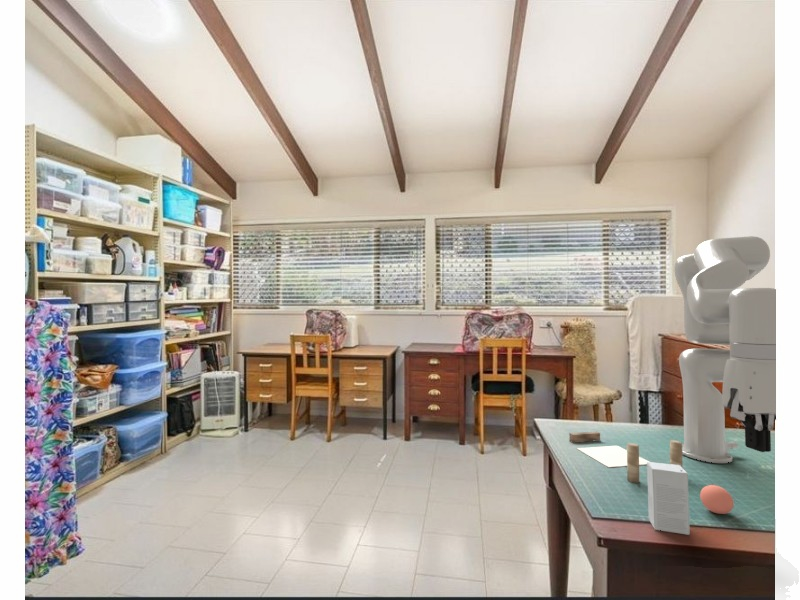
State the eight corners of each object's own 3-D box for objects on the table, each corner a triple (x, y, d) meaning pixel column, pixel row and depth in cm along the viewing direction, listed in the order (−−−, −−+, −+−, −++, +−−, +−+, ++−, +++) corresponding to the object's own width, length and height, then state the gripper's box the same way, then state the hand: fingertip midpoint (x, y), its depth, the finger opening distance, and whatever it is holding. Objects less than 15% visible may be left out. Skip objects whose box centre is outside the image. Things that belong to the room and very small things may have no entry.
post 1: (633, 478, 97) (633, 442, 98) (641, 482, 95) (641, 446, 95) (624, 478, 97) (624, 443, 97) (632, 483, 94) (632, 447, 95)
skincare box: (681, 524, 77) (680, 464, 77) (690, 536, 73) (689, 473, 73) (647, 518, 79) (646, 460, 79) (653, 530, 75) (652, 469, 75)
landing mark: (617, 446, 120) (617, 445, 120) (653, 464, 106) (653, 463, 106) (576, 448, 117) (576, 448, 117) (608, 467, 104) (608, 467, 104)
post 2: (676, 474, 99) (675, 440, 100) (685, 478, 97) (684, 443, 97) (667, 475, 99) (667, 440, 99) (676, 479, 96) (675, 444, 97)
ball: (715, 504, 84) (714, 479, 84) (741, 518, 79) (740, 491, 79) (693, 506, 83) (693, 481, 83) (718, 520, 78) (718, 493, 78)
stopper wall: (596, 439, 126) (596, 431, 126) (600, 440, 125) (600, 433, 125) (569, 440, 124) (569, 433, 125) (572, 442, 123) (572, 434, 123)
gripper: (766, 349, 77) (768, 440, 77) (703, 351, 75) (705, 444, 74) (811, 354, 70) (814, 454, 69) (743, 355, 67) (745, 459, 67)
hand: (757, 449), depth 72 cm, fingers closed
